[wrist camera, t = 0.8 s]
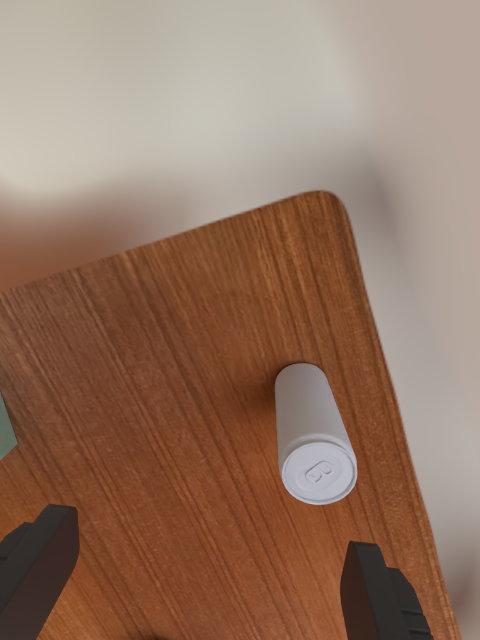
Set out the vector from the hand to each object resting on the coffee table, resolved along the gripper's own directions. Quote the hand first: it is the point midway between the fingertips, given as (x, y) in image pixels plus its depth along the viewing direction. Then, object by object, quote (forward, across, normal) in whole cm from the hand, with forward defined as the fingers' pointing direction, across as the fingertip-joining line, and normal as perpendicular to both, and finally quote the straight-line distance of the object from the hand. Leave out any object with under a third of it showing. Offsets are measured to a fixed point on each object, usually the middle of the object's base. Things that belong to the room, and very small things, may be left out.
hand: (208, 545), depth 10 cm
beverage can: (+22, -6, +5) cm, 24 cm away
